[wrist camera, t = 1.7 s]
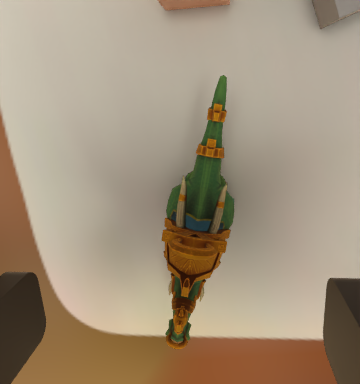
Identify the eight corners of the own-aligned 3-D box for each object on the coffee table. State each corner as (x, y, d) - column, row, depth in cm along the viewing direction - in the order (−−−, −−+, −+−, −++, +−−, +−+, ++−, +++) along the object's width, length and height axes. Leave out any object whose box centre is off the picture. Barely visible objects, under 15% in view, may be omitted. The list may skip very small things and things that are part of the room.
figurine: (162, 278, 21) (125, 394, 13) (193, 71, 17) (166, 64, 9) (213, 288, 21) (204, 412, 13) (255, 81, 17) (280, 81, 9)
